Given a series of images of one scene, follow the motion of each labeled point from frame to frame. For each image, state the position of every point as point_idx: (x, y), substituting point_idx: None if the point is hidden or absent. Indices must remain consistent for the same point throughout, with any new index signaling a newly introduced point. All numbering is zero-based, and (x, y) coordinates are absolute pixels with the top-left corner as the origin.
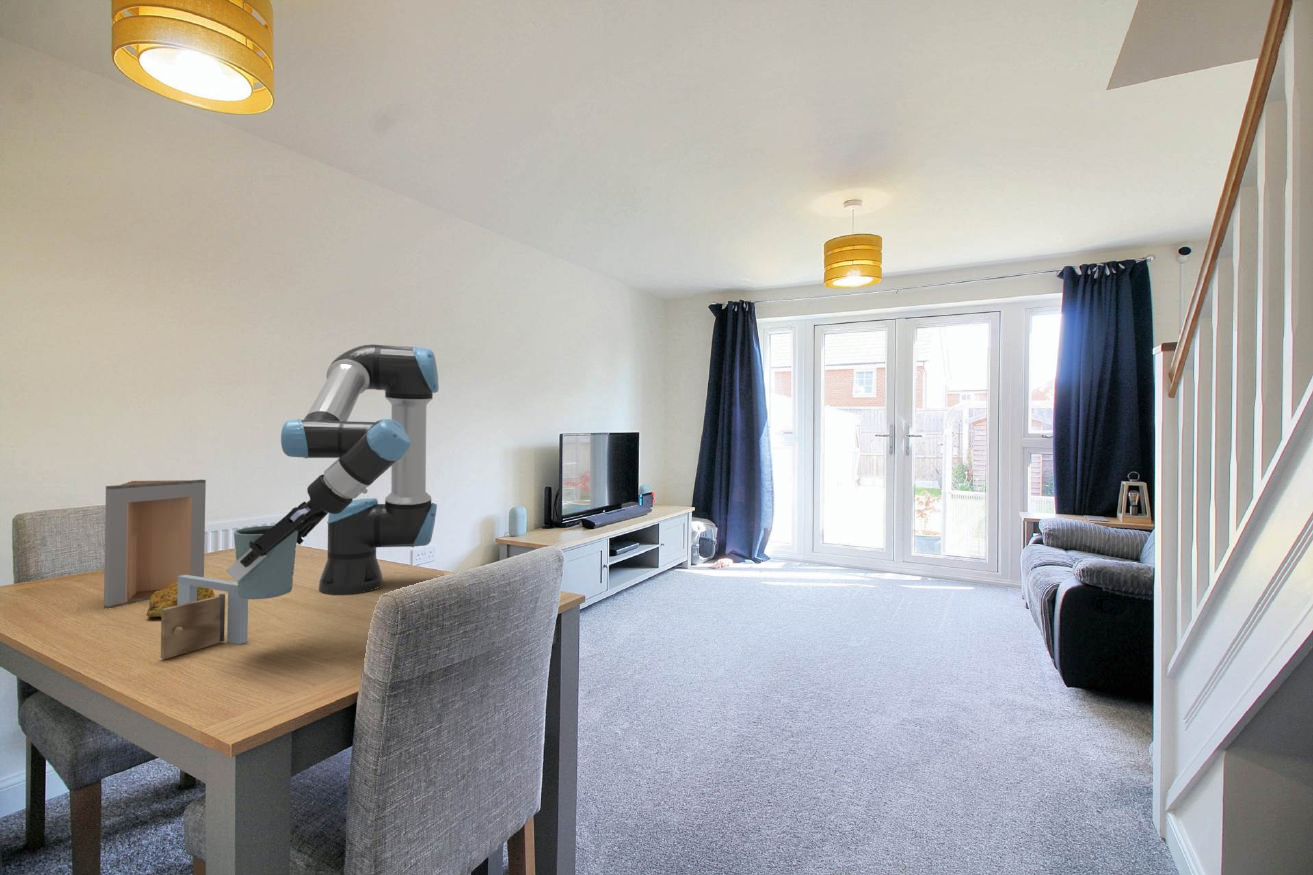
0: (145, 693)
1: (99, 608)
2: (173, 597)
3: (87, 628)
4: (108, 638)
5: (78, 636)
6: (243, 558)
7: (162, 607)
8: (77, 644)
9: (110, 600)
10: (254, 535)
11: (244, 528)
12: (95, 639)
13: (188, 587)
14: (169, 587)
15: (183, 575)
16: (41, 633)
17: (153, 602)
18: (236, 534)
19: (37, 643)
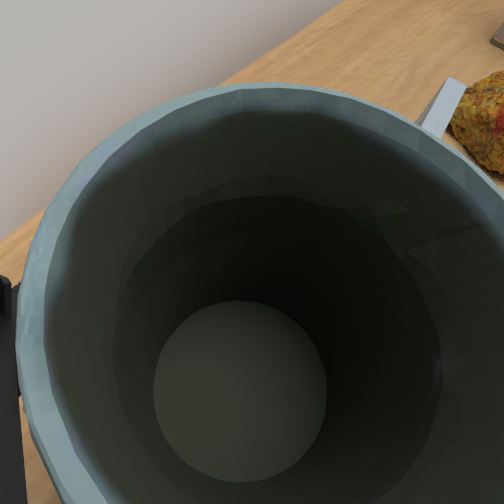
0: (21, 246)
1: (489, 33)
2: (487, 107)
3: (394, 50)
4: (345, 90)
5: (355, 53)
6: (19, 284)
7: (460, 108)
8: (317, 64)
9: (502, 31)
10: (25, 267)
11: (378, 111)
12: (340, 76)
13: (420, 121)
14: None
15: (457, 84)
16: (370, 13)
17: (474, 87)
18: (137, 119)
19: (325, 23)
